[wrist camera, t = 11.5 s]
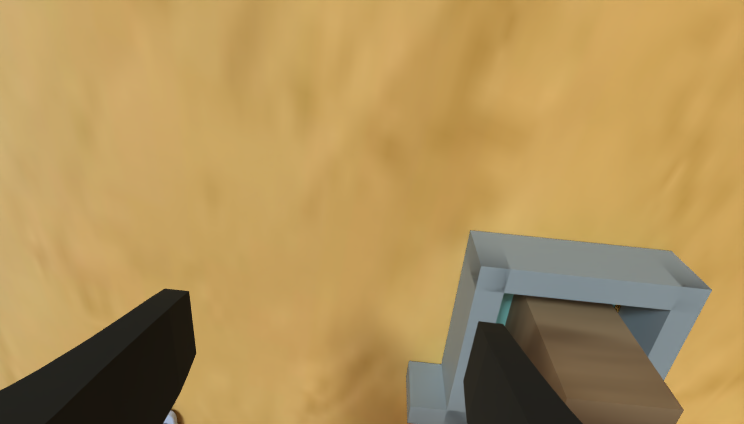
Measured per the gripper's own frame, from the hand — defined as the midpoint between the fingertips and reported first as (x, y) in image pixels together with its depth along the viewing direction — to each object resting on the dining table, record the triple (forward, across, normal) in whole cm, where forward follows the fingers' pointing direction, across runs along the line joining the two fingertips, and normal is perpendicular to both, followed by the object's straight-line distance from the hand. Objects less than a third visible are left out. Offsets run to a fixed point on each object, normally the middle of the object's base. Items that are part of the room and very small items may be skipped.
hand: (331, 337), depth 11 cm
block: (+10, -10, +6) cm, 15 cm away
